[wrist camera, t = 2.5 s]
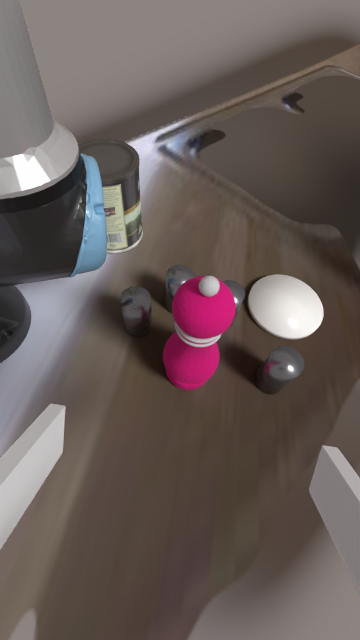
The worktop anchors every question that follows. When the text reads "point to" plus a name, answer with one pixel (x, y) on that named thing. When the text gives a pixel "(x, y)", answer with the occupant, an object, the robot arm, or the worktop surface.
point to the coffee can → (118, 191)
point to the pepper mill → (197, 330)
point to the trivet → (285, 307)
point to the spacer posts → (277, 366)
